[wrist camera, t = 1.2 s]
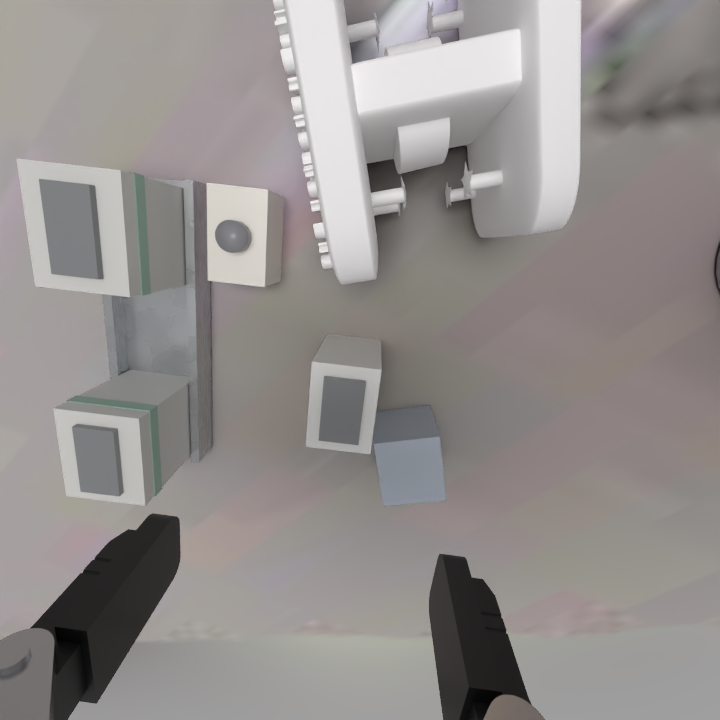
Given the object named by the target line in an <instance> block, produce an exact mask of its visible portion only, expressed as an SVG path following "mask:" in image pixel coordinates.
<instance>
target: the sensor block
mask: <svg viewBox="0 0 720 720" xmlns="http://www.w3.org/2000/svg"><path fill="white" fill-rule="evenodd" d="M283 218H284V197H282V196H280V195H278V194H276V193H274V192H272V191H270V190H267V189H258V188H249V187H240V186H231V185H222V184H213V183H207V260H208V281H216V282H225V283H233V284H242V285H250V286H259V287H267V286H269V285H272V284H275V283H278V282H280V281H281V263H282V241H283Z"/></svg>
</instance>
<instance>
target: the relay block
mask: <svg viewBox="0 0 720 720" xmlns="http://www.w3.org/2000/svg"><path fill="white" fill-rule="evenodd" d="M374 450H375V456H376V463H377V469H378V475H379V481H380V488H381V494H382V500H383V506H394V505H404V504H414V503H425V502H435V501H445V500H446V491H445V482H444V472H443V462H442V452H441V442H440V435H439V432H438V429H437V426H436V423H435V419H434V416H433V413H432V410H431V407H430V406H422V407H414V408H405V409H397V410H388V411H380V412H376V416H375V424H374Z"/></svg>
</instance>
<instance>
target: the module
mask: <svg viewBox="0 0 720 720" xmlns="http://www.w3.org/2000/svg"><path fill="white" fill-rule="evenodd" d="M381 371H382V364H381V340H376V339H368V338H359V337H351V336H342V335H334V334H327V336H326V337H325V339H324V341H323V343H322V345H321V346H320V348H319V350H318V352H317V353H316V355H315V357H314V359H313V361H312V367H311V380H310V394H309V407H308V421H307V434H306V447H313V448H321V449H330V450H338V451H346V452H354V453H363V454H370V453H371V446H372V438H373V431H374V424H375V416H376V409H377V401H378V394H379V386H380V379H381Z"/></svg>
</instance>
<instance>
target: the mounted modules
mask: <svg viewBox="0 0 720 720" xmlns="http://www.w3.org/2000/svg"><path fill="white" fill-rule="evenodd" d="M17 166H18V172H19V179H20V186H21V193H22V199H23V206H24V213H25V220H26V226H27V233H28V240H29V247H30V253H31V260H32V267H33V274H34V280H35V286H38V287H46V288H55V289H63V290H72V291H80V292H89V293H97V294H106V295H114V296H123V297H134V296H138V295H140V296H144V295H149V294H151V293H152V292H157V291H162V290H166V289H171V288H176V287H180V286H185V285H186V257H185V222H184V188H181V187H177V186H174V185H170V184H167V183H163V182H160V181H156V180H153V179H149V178H146V177H144V176H143V175H139V174H136V173H129V172H125V171H121V170H113V169H104V168H95V167H87V166H78V165H69V164H60V163H51V162H42V161H33V160H25V159H17ZM53 409H54V416H55V422H56V429H57V436H58V443H59V450H60V456H61V463H62V470H63V477H64V483H65V490H66V496H71V497H79V498H87V499H95V500H103V501H111V502H119V503H127V504H135V505H143V506H146V505H147V503H148V502H149V501H150V500H151V499H152V498H153V497H154V496H156V495H157V494H158V493H159V492H160V490H161V489H162V487H163V485H164V484H165V483H166V482H167V481H168V480H169V479H170V478H171V476H172V475H173V474H174V473H175V472H176V471H177V470H178V469H179V467H180V466H181V465H182V464H183V463H184V462H185V461H186V460H187V459H188V457H189V456H190V455H191V429H190V395H189V377H187V376H178V375H170V374H162V373H153V372H145V371H137V370H129V371H127V372H125V373H123V374H121V375H119V376H117V377H115V378H113V379H111V380H109V381H107V382H105V383H103V384H101V385H99V386H97V387H95V388H93V389H91V390H89V391H87V392H85V393H83V394H81V395H79V396H75V397H73V398H71V399H69V400H67V401H66V402H65V403H63V404H61V405H59V406H57V407H55V408H53Z"/></svg>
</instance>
